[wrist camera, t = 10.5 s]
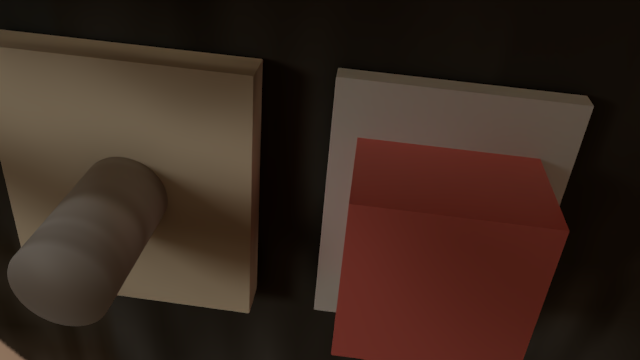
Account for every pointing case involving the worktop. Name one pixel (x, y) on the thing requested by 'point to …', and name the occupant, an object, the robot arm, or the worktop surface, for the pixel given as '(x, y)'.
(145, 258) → the post stand
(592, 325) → the worktop surface
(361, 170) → the red cuboid block
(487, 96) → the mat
